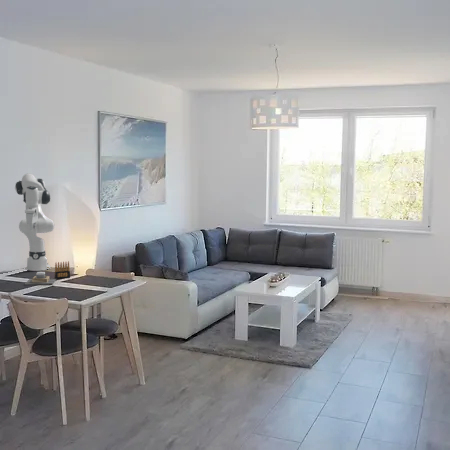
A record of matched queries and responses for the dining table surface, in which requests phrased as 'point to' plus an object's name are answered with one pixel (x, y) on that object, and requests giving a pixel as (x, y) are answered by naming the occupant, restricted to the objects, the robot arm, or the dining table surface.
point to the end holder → (40, 281)
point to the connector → (40, 275)
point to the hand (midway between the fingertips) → (32, 229)
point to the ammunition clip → (62, 270)
